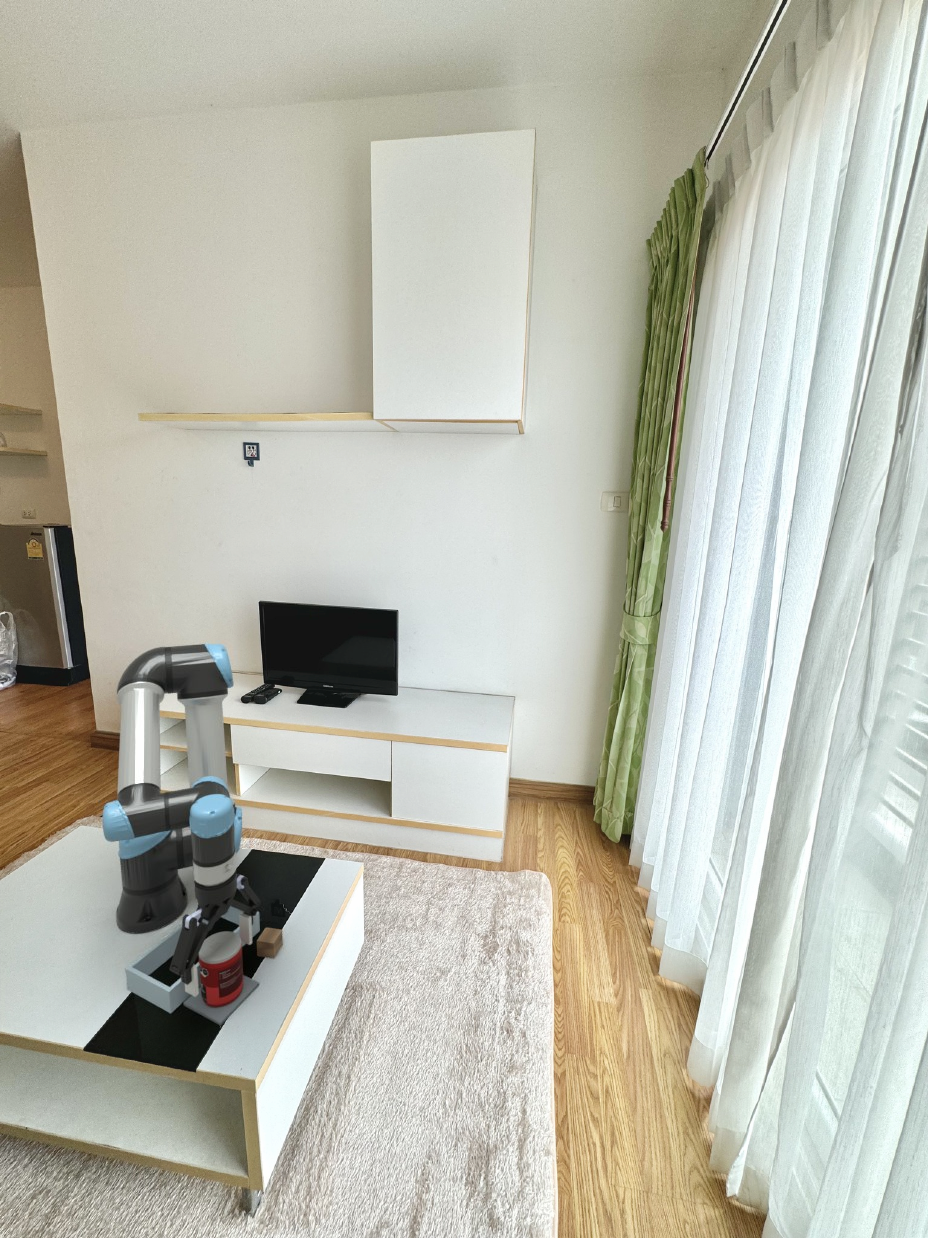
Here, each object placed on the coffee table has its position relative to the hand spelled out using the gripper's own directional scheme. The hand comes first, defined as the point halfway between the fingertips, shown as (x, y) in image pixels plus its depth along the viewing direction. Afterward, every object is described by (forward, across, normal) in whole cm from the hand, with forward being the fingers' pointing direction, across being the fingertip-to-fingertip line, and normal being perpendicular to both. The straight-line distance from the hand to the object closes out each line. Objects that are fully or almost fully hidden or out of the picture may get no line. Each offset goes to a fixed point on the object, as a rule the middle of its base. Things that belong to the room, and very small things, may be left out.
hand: (220, 966), depth 109 cm
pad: (+6, 0, 0) cm, 7 cm away
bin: (+7, +4, +12) cm, 14 cm away
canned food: (+6, 0, 0) cm, 6 cm away
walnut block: (+7, +13, -1) cm, 14 cm away
